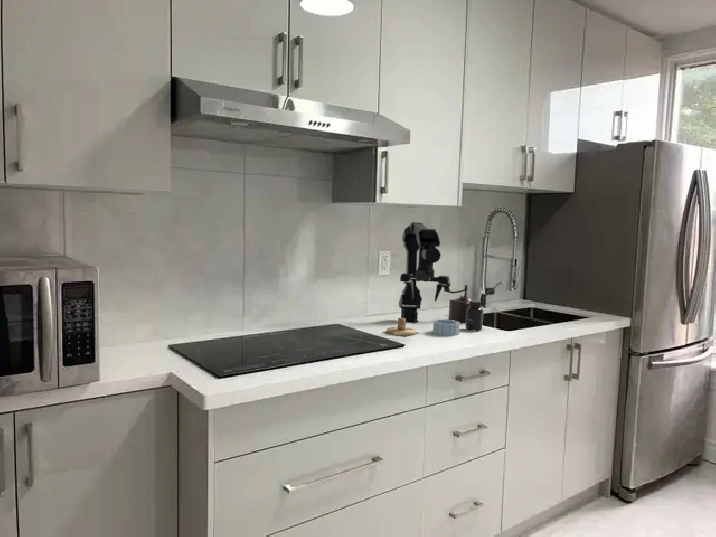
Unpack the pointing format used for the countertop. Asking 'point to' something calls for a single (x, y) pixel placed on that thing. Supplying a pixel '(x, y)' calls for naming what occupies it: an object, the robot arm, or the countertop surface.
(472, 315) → the supplement bottle
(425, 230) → the robot arm
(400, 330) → the lid
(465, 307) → the manual coffee grinder
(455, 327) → the bowl
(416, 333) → the mat
